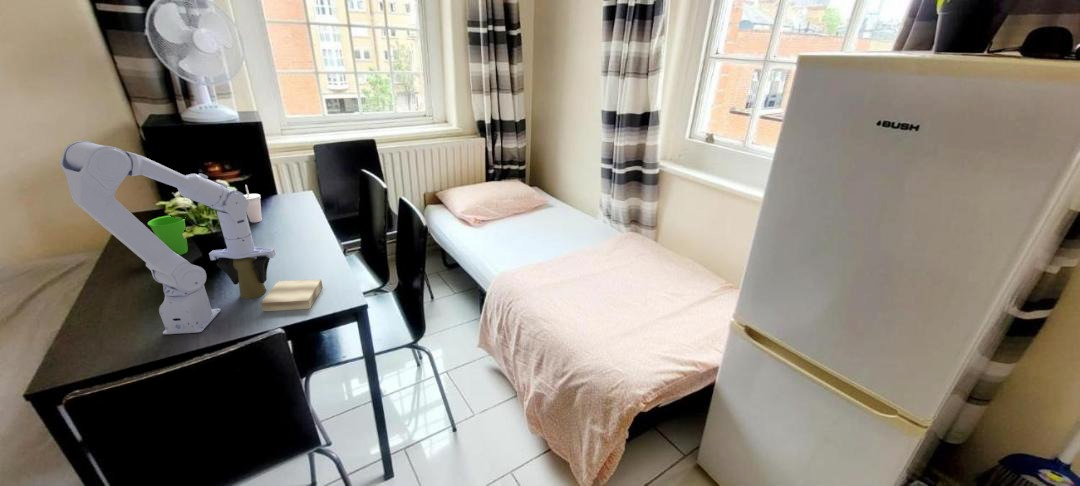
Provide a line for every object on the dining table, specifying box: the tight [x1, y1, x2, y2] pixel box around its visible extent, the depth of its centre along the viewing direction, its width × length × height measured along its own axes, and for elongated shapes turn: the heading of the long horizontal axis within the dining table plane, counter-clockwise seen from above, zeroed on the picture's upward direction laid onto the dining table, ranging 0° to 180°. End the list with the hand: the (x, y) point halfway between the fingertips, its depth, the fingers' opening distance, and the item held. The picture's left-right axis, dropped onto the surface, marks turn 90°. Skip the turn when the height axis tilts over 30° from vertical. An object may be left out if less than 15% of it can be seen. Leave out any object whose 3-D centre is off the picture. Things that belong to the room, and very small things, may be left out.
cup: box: [147, 215, 189, 256], centre depth 133 cm, size 9×9×11 cm
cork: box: [233, 257, 267, 300], centre depth 113 cm, size 6×6×11 cm
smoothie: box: [243, 184, 263, 223], centre depth 158 cm, size 6×6×14 cm
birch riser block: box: [260, 278, 323, 312], centre depth 113 cm, size 11×11×2 cm
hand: (250, 282), depth 114 cm, fingers open, 6 cm apart
